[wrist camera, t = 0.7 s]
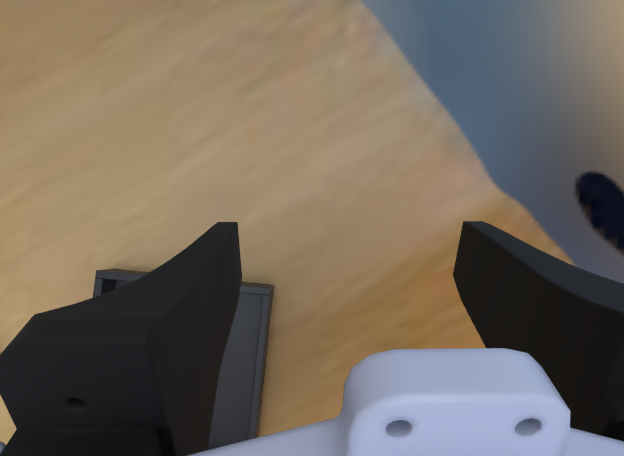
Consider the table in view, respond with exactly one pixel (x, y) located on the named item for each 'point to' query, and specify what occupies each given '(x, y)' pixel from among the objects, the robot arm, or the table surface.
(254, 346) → the pan
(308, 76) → the table surface
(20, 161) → the table surface
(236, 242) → the robot arm
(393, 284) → the table surface
